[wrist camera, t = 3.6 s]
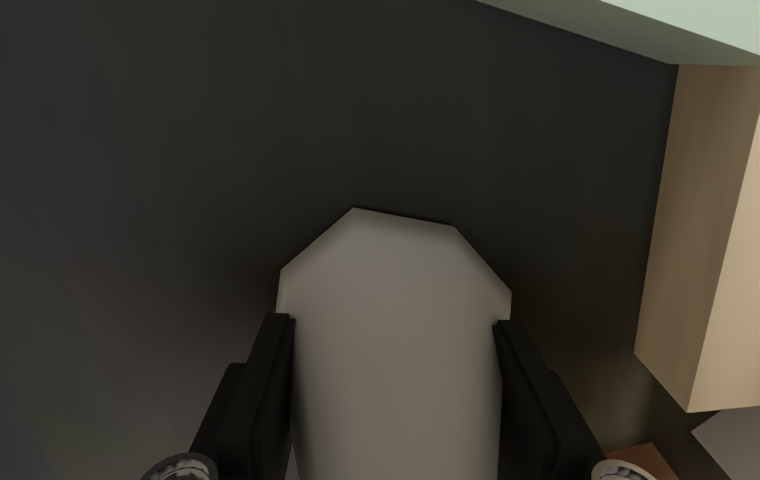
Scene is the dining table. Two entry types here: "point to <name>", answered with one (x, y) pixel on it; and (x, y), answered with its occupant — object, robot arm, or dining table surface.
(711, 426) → the grey brick
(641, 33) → the sage brick
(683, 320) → the oak block
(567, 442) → the robot arm
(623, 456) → the cherry brick
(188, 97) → the dining table surface
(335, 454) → the flask
